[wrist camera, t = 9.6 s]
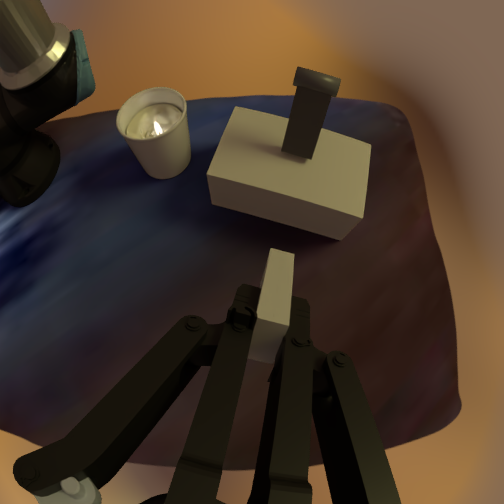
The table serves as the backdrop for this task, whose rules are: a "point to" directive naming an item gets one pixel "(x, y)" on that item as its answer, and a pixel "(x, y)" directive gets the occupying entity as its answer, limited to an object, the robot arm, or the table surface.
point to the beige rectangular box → (289, 176)
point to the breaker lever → (308, 111)
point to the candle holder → (157, 131)
